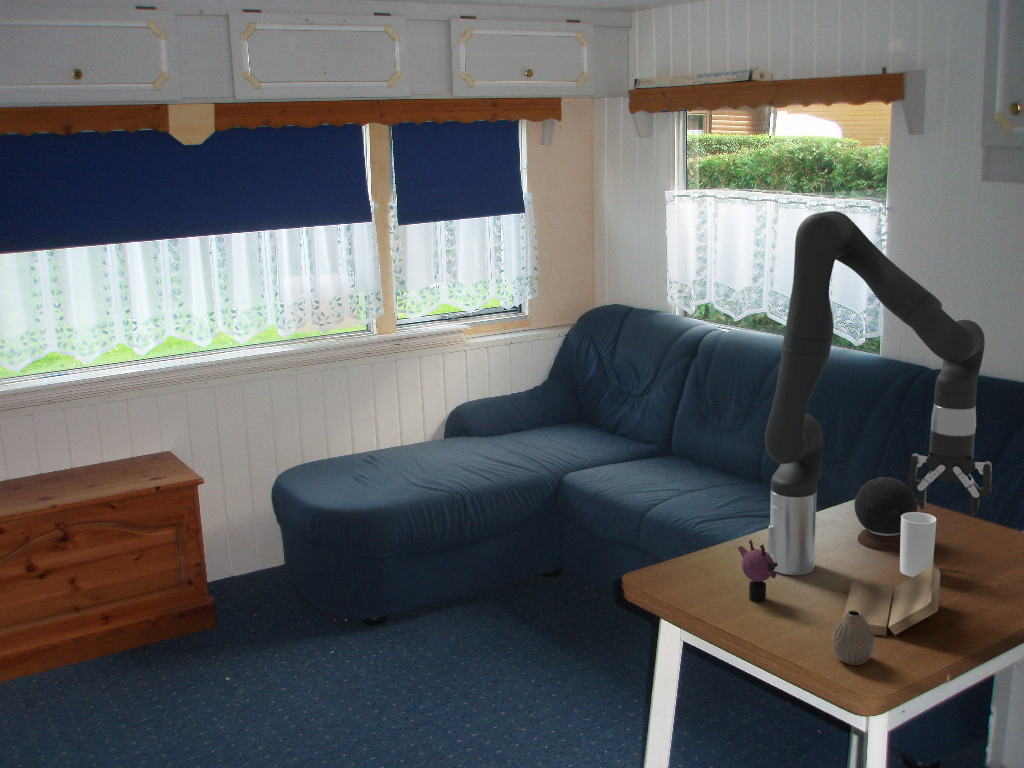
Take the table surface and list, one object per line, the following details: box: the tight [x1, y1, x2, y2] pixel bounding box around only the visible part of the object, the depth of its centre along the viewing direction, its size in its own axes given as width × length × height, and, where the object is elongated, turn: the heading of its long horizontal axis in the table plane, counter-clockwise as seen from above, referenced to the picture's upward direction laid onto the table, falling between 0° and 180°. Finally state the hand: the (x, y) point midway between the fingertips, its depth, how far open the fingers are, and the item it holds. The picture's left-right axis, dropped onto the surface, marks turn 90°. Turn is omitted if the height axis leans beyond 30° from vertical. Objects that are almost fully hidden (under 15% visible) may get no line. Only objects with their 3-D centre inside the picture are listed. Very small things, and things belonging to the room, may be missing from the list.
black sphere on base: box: [854, 476, 918, 552], centre depth 222 cm, size 13×13×15 cm
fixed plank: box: [842, 582, 894, 637], centre depth 189 cm, size 8×18×2 cm, turn 156°
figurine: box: [737, 539, 778, 603], centre depth 196 cm, size 8×8×12 cm
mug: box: [899, 511, 937, 578], centre depth 206 cm, size 10×7×12 cm, turn 132°
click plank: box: [888, 563, 941, 636], centre depth 185 cm, size 9×18×2 cm
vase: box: [831, 610, 876, 666], centre depth 171 cm, size 7×7×9 cm
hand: (947, 511), depth 187 cm, fingers open, 8 cm apart
